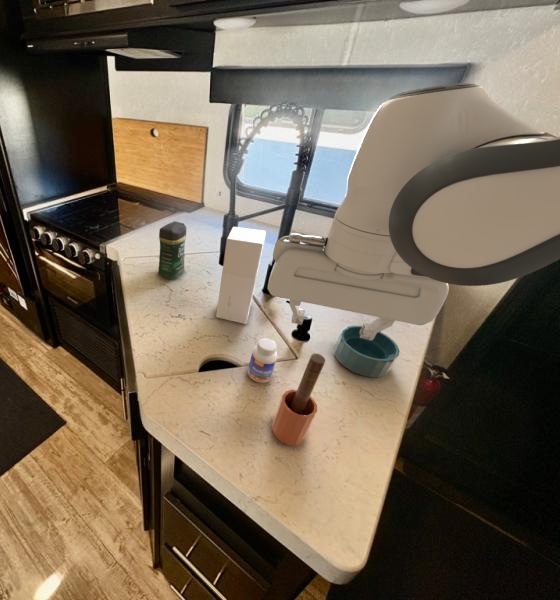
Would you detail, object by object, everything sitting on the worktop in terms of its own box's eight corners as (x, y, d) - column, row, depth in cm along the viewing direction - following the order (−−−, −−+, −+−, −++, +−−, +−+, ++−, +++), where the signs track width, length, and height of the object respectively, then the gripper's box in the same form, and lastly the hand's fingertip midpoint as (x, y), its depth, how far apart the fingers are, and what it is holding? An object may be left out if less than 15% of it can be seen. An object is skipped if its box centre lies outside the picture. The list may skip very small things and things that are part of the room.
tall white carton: (215, 317, 91) (226, 238, 77) (222, 301, 98) (232, 226, 84) (246, 324, 89) (263, 244, 74) (250, 307, 95) (266, 230, 81)
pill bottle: (247, 380, 72) (254, 350, 66) (247, 364, 76) (254, 334, 71) (271, 385, 71) (281, 355, 65) (270, 368, 75) (279, 338, 70)
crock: (303, 423, 63) (316, 394, 58) (303, 450, 58) (317, 422, 53) (273, 413, 65) (283, 385, 60) (270, 439, 60) (281, 411, 55)
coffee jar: (174, 282, 107) (176, 232, 96) (155, 276, 111) (154, 226, 100) (187, 271, 114) (190, 222, 103) (169, 265, 117) (170, 217, 106)
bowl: (383, 349, 80) (393, 332, 77) (393, 384, 71) (405, 366, 68) (331, 338, 84) (339, 321, 81) (334, 370, 75) (343, 352, 71)
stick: (299, 428, 62) (331, 356, 50) (298, 438, 60) (332, 366, 48) (278, 421, 63) (304, 350, 51) (277, 431, 61) (304, 359, 50)
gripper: (276, 240, 39) (256, 325, 47) (477, 271, 33) (414, 361, 41) (279, 223, 44) (260, 302, 52) (455, 246, 38) (403, 332, 46)
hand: (329, 328), depth 46 cm, fingers open, 8 cm apart
